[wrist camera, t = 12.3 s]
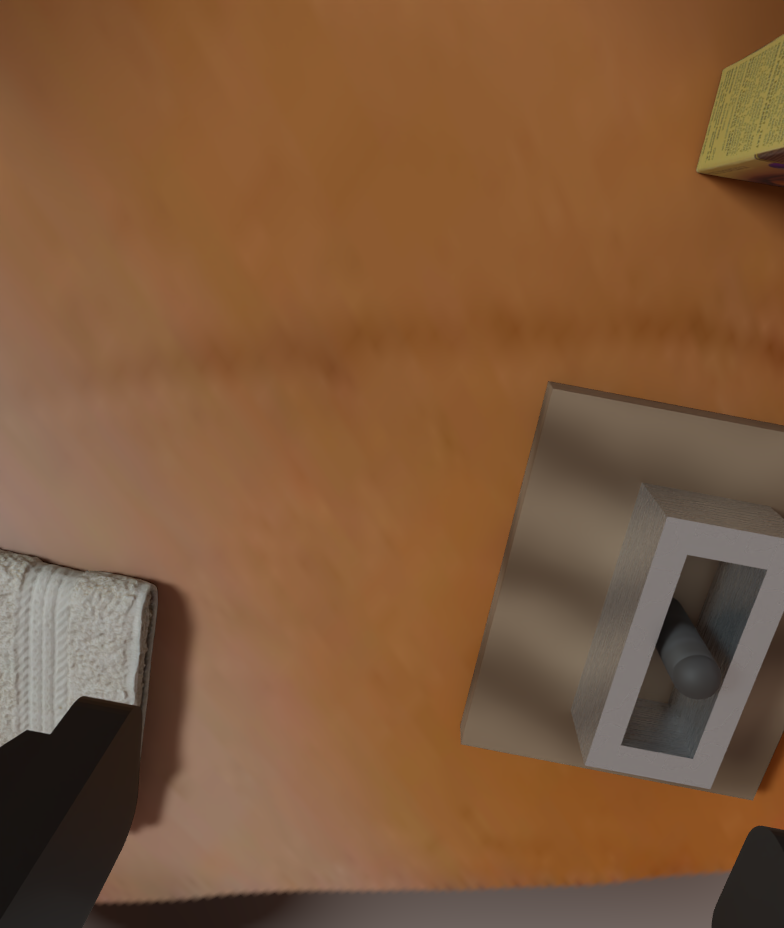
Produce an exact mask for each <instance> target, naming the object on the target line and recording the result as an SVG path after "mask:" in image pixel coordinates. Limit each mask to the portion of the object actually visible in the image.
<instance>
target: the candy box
mask: <svg viewBox="0 0 784 928" xmlns="http://www.w3.org/2000/svg"><path fill="white" fill-rule="evenodd" d="M696 171H697V172H698V173H704V174H710V175H716V176H721V177H727V178H733V179H738V180H744V181H750V182H757V183H763V184H769V185H774V186H780V187H784V34H783V35H782V36H780V37H778V38H776V39H775V40H774V41H772V42H770V43H769V44H767V45H765V46H764V47H762V48H760V49H759V50H757V51H755V52H753V53H752V54H750V55H748V56H747V57H745V58H743V59H741V60H740V61H738V62H736V63H734V64H732V65H730V66H729V67H727V68H725V69H724V70H723V72H722V77H721V81H720V84H719V88H718V92H717V96H716V99H715V103H714V107H713V110H712V114H711V118H710V122H709V125H708V129H707V133H706V137H705V141H704V144H703V148H702V151H701V155H700V158H699V161H698V165H697V169H696Z"/></svg>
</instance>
